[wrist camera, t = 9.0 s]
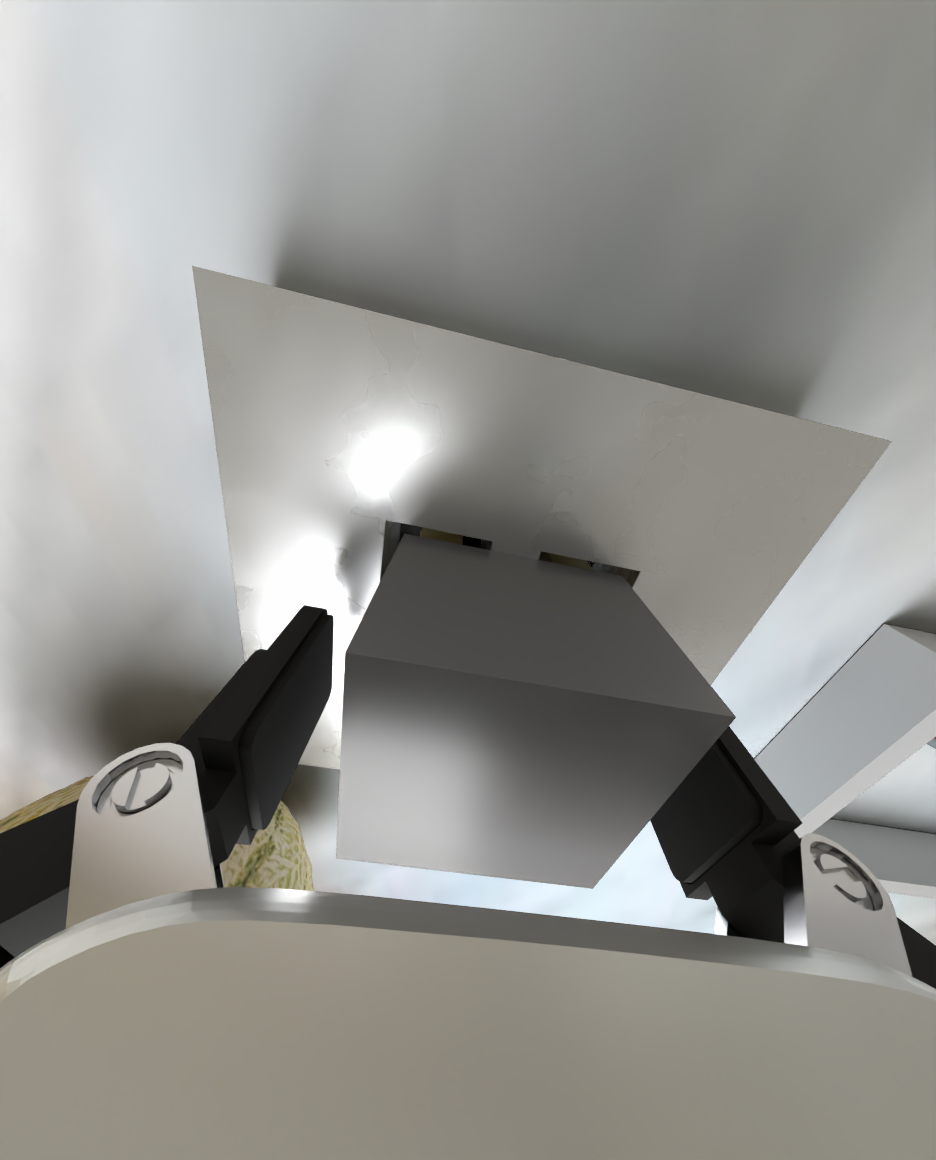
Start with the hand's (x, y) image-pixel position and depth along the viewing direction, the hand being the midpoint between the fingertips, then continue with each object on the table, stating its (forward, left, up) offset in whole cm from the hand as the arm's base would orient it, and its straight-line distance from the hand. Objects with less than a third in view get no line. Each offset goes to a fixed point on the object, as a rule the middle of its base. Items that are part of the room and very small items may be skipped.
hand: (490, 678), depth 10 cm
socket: (0, 0, -5) cm, 5 cm away
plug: (0, 0, -5) cm, 5 cm away
